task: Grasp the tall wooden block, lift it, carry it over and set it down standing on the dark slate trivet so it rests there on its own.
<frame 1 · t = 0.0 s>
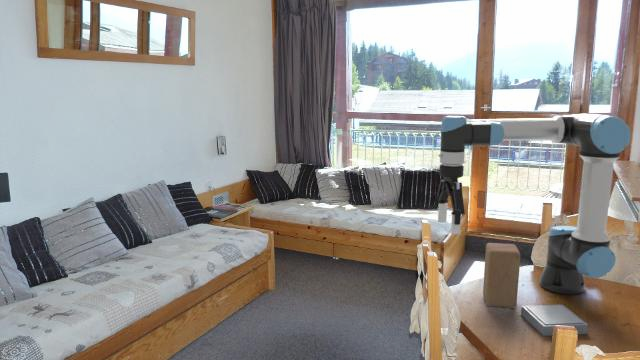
hand: (448, 227, 163), 28 cm above the table, fingers open, 13 cm apart
wooden block: (499, 302, 172), on the table
slate trivet: (552, 323, 156), on the table
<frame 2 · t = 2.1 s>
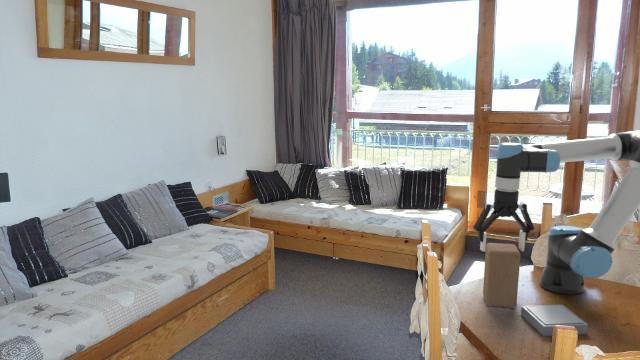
hand: (501, 250, 168), 19 cm above the table, fingers open, 13 cm apart
nothing on the table moved.
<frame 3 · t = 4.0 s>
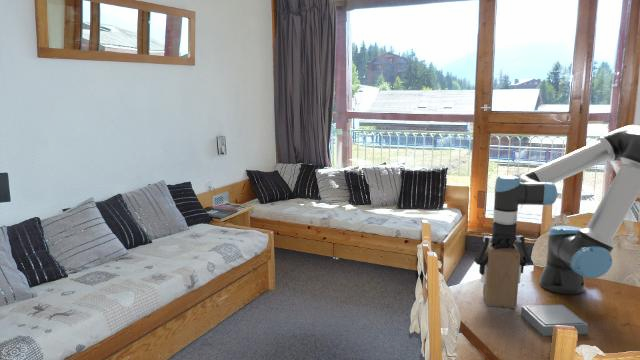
hand: (500, 282, 170), 7 cm above the table, fingers closed on wooden block, 11 cm apart
wooden block: (499, 302, 172), on the table, touching gripper
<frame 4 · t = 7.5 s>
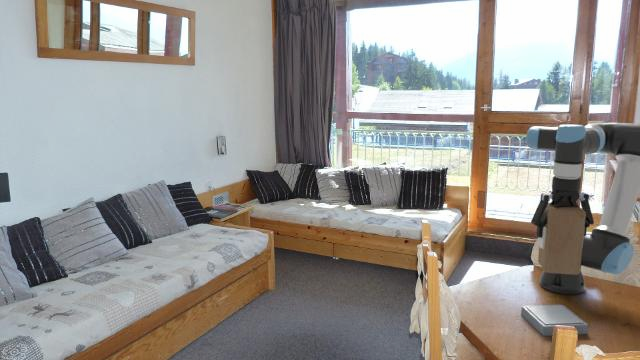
hand: (560, 246, 151), 25 cm above the table, fingers closed on wooden block, 11 cm apart
wooden block: (557, 269, 152), point 18 cm above the table, touching gripper
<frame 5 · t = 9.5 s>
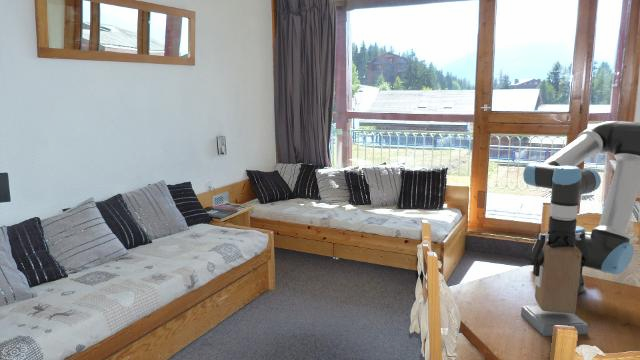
hand: (556, 285, 153), 13 cm above the table, fingers closed on wooden block, 11 cm apart
wooden block: (554, 307, 155), point 6 cm above the table, touching gripper
when the fingers open (12 cm above the table, at t = 11.0 s): wooden block drops 1 cm, resting on slate trivet.
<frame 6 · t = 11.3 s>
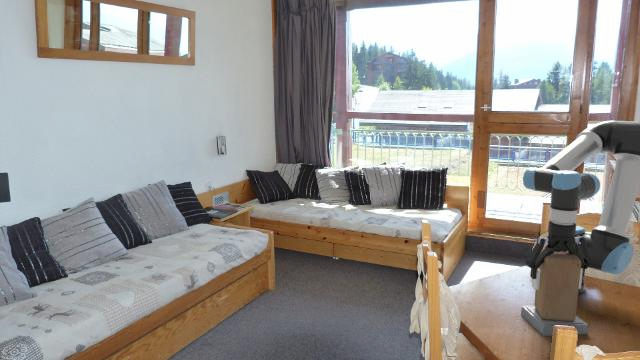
hand: (556, 287, 154), 12 cm above the table, fingers open, 13 cm apart
wooden block: (553, 314, 155), point 3 cm above the table, touching slate trivet
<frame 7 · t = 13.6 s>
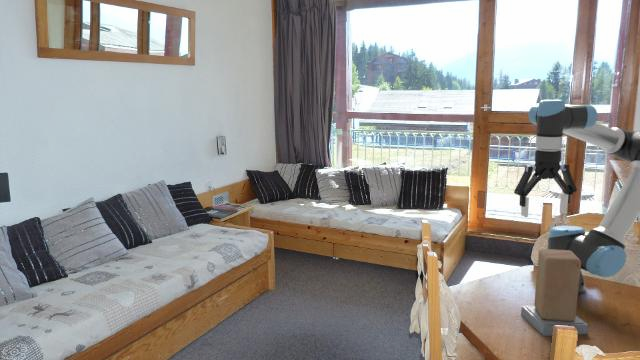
hand: (543, 214, 159), 33 cm above the table, fingers open, 13 cm apart
nothing on the table moved.
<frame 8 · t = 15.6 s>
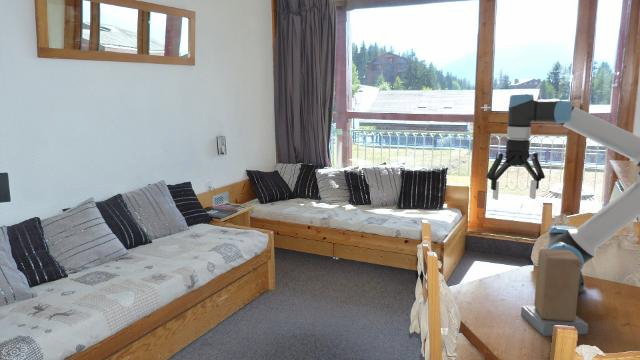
hand: (513, 198, 175), 35 cm above the table, fingers open, 13 cm apart
nothing on the table moved.
at the end: wooden block inside the target area on the slate trivet (0.1 cm from its centre), point 3.1 cm above the slate trivet's base; wooden block tilted 0°; the gripper is holding nothing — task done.
